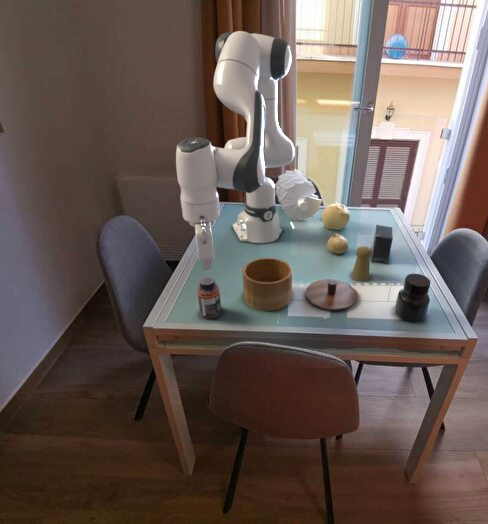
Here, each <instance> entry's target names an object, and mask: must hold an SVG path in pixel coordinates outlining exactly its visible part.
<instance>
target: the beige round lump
mask: <svg viewBox="0 0 488 524" xmlns="http://www.w3.org/2000/svg"><path fill="white" fill-rule="evenodd" d="M350 217H351V214H350V211H349V210H348V208H347V207H346V206H345V205H344V204H342V203H339V202H333V203H331V204H329V205H327V206H326V207H325V208H324V209H323V211H322V214H321V222H322V224H323V227H324V228H326V229H328V230H332V231H333V230H334V231H340V230H344V228H345V227H347V225H348V223H349V221H350Z"/></svg>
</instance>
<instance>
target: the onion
mask: <svg viewBox="0 0 488 524" xmlns="http://www.w3.org/2000/svg"><path fill="white" fill-rule="evenodd" d="M326 245H327V249H328V250H329V252H330V253H333V254H336V255H342V254H344V253H345V252H347V251H348V249H349V242H348V240H347V239H346V238H345V237H344V236H343V235H341V234H340V233H333V234H332V236H331V237H330V238H329V239H328V240H327V244H326Z"/></svg>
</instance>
